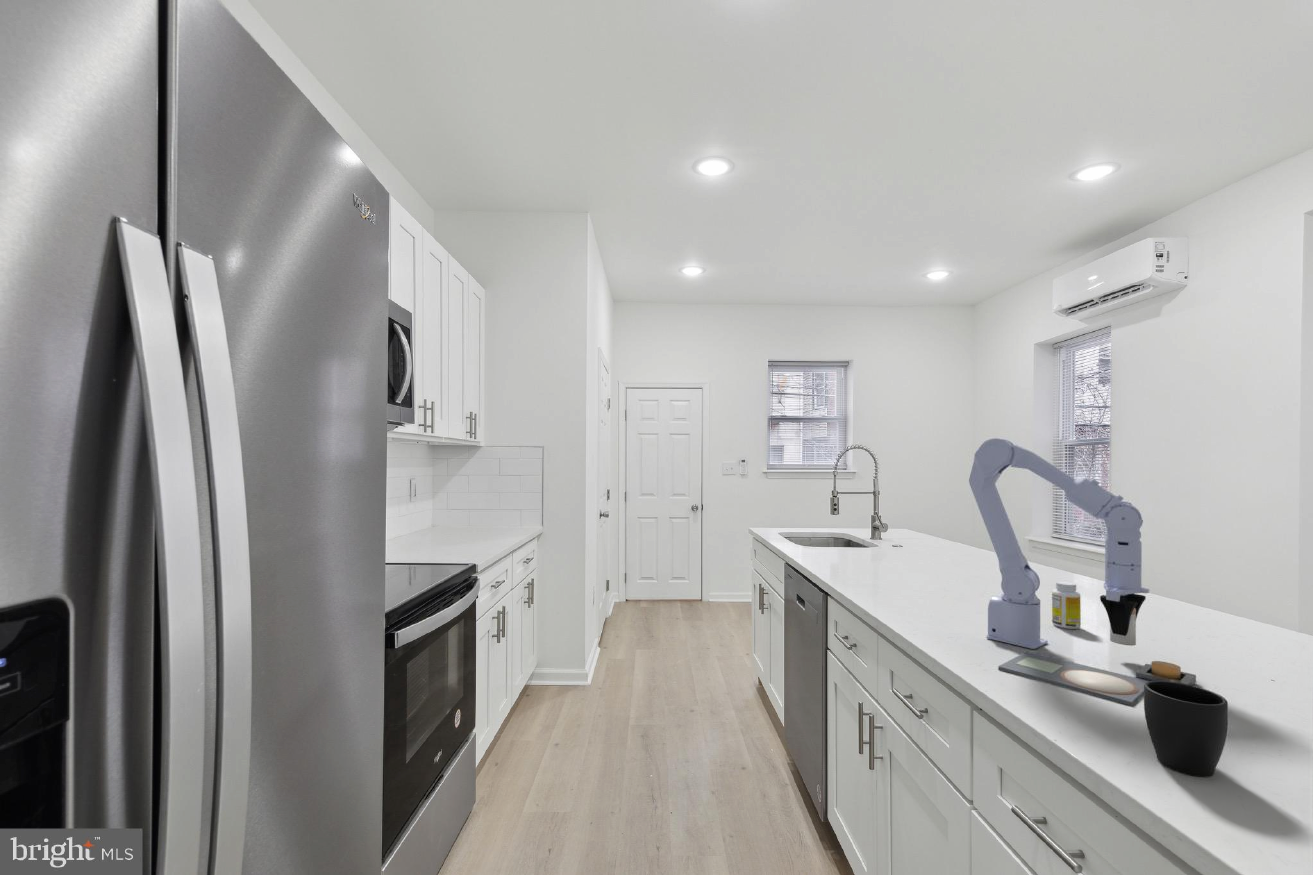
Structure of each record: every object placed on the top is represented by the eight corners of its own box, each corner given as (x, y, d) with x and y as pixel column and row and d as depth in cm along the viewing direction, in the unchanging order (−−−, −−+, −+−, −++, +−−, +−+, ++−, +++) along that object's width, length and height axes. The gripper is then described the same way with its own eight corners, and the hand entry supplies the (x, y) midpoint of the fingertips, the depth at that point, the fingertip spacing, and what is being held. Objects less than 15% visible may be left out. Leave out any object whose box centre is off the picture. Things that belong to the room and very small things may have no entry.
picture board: (998, 669, 112) (998, 665, 112) (1026, 654, 121) (1026, 650, 121) (1131, 705, 96) (1131, 700, 96) (1153, 685, 105) (1153, 680, 105)
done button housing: (1136, 680, 108) (1136, 671, 108) (1146, 671, 112) (1146, 663, 112) (1187, 692, 102) (1187, 684, 102) (1195, 683, 107) (1195, 674, 107)
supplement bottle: (1083, 627, 141) (1083, 583, 141) (1076, 631, 137) (1076, 586, 138) (1056, 621, 145) (1056, 579, 145) (1048, 625, 142) (1048, 582, 142)
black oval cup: (1218, 752, 82) (1218, 681, 82) (1233, 791, 72) (1233, 711, 72) (1141, 734, 87) (1141, 667, 87) (1145, 768, 77) (1145, 693, 77)
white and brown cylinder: (1107, 641, 119) (1107, 606, 119) (1113, 637, 121) (1113, 603, 121) (1132, 646, 116) (1132, 610, 116) (1138, 642, 118) (1138, 607, 118)
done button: (1148, 674, 107) (1148, 664, 107) (1154, 669, 110) (1154, 659, 110) (1178, 681, 104) (1177, 670, 104) (1183, 675, 107) (1182, 665, 107)
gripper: (1138, 571, 111) (1138, 644, 111) (1157, 562, 120) (1157, 630, 120) (1093, 564, 117) (1092, 635, 116) (1114, 557, 126) (1114, 622, 125)
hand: (1122, 632), depth 118 cm, fingers closed on white and brown cylinder, 4 cm apart
